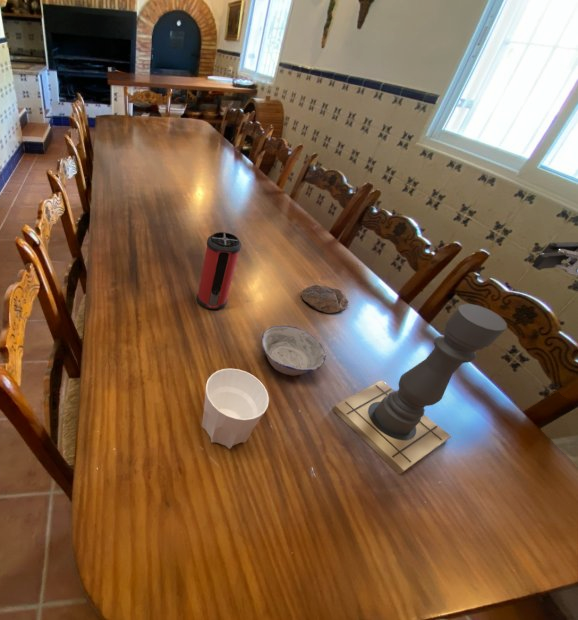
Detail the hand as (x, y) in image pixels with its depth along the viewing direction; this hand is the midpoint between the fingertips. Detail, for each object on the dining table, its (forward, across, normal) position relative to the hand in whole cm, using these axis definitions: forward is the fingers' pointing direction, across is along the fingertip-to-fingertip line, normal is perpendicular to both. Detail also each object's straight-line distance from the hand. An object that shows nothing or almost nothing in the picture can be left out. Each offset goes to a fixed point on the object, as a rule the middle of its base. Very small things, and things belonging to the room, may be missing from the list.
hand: (571, 278), depth 48 cm
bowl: (+22, -18, +32) cm, 43 cm away
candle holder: (+11, 0, +31) cm, 33 cm away
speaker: (+31, -40, +32) cm, 60 cm away
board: (+11, 0, +32) cm, 34 cm away
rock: (+1, -36, +32) cm, 48 cm away
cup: (+42, -5, +32) cm, 53 cm away
